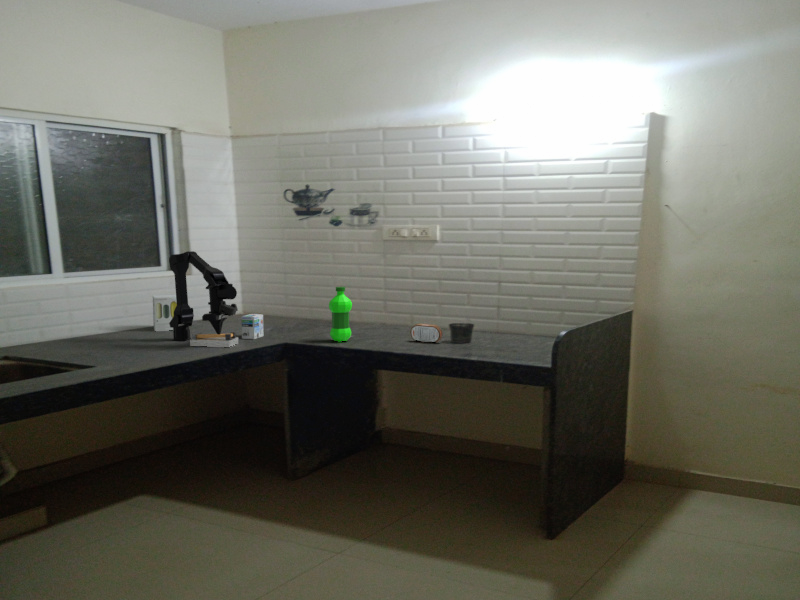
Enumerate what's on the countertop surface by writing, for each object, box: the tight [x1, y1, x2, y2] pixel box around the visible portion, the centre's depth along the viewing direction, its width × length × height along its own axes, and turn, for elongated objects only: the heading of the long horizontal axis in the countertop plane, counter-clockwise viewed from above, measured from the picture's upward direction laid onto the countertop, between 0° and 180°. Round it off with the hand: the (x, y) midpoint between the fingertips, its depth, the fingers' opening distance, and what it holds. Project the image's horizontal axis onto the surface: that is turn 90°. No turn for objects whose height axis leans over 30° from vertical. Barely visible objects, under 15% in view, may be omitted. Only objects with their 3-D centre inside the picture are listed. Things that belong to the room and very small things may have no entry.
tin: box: [409, 323, 443, 343], centre depth 289 cm, size 15×3×8 cm, turn 65°
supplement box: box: [152, 293, 177, 332], centre depth 327 cm, size 13×13×18 cm
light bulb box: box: [241, 313, 264, 340], centre depth 301 cm, size 11×7×11 cm, turn 168°
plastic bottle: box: [328, 286, 353, 343], centre depth 290 cm, size 10×10×25 cm
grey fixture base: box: [189, 331, 239, 348], centre depth 280 cm, size 18×10×6 cm, turn 82°
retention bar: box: [197, 333, 233, 338], centre depth 280 cm, size 16×3×1 cm, turn 82°
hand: (218, 334), depth 279 cm, fingers closed, pressing on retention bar
